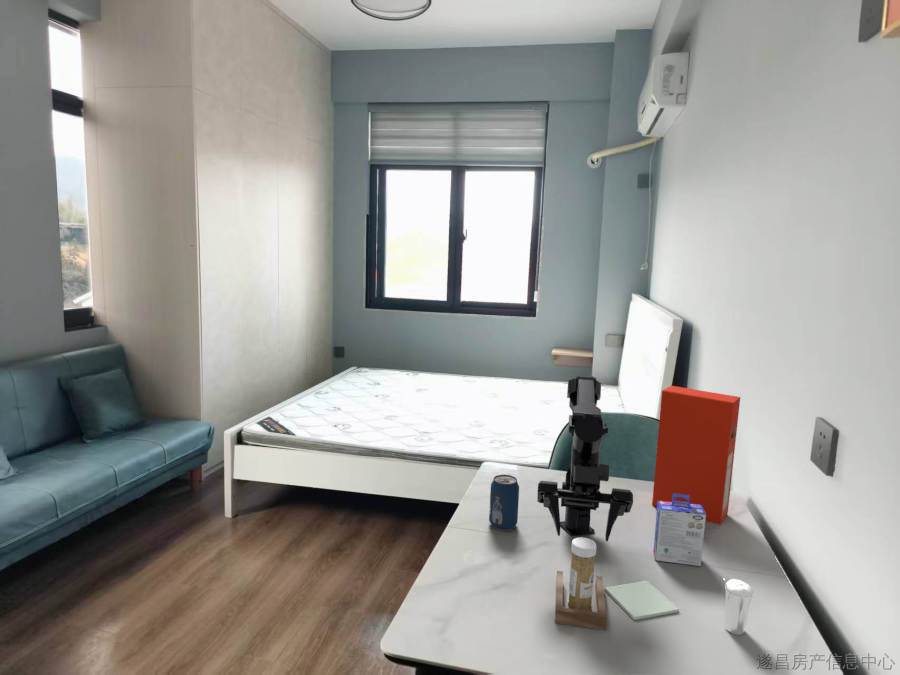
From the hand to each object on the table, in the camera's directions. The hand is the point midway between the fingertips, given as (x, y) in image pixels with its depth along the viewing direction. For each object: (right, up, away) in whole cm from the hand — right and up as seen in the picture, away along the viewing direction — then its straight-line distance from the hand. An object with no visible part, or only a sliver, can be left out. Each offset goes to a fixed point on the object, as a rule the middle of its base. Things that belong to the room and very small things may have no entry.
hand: (582, 538), depth 116 cm
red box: (+38, -7, +42) cm, 57 cm away
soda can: (-13, -7, +30) cm, 33 cm away
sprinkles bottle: (-1, -13, -3) cm, 13 cm away
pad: (+11, -12, 0) cm, 17 cm away
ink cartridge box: (+25, -10, +17) cm, 32 cm away
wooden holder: (-1, -12, -2) cm, 12 cm away
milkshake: (+26, -14, -8) cm, 30 cm away
